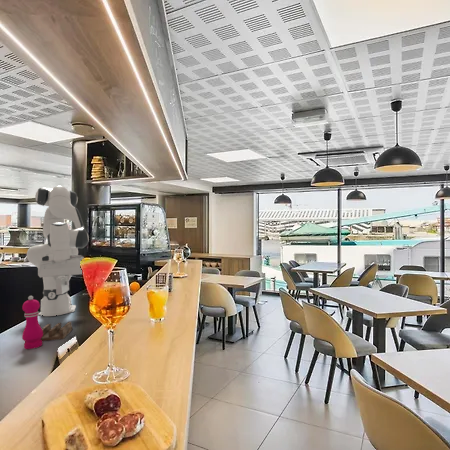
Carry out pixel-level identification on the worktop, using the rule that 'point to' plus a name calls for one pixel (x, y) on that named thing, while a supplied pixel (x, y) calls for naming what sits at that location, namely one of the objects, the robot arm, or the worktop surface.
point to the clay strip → (61, 285)
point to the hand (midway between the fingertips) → (62, 285)
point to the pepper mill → (32, 324)
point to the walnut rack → (56, 331)
